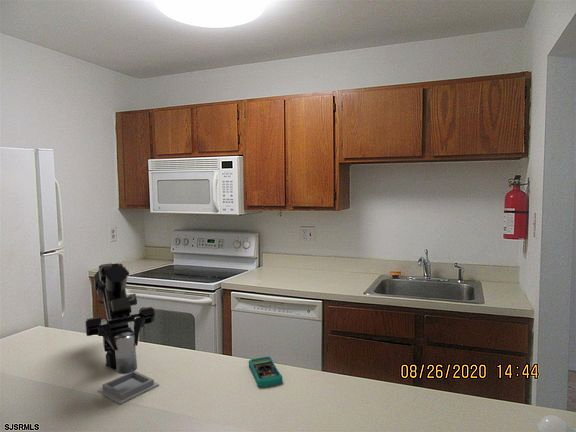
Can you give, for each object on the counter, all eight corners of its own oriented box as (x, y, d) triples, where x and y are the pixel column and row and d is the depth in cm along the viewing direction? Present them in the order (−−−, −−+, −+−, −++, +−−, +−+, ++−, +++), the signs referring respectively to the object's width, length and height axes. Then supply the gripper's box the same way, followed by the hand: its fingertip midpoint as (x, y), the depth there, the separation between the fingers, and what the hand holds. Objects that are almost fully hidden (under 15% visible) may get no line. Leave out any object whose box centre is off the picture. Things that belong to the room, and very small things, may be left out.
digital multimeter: (258, 390, 116) (258, 380, 116) (248, 367, 130) (248, 358, 130) (283, 385, 118) (283, 375, 118) (270, 363, 132) (270, 354, 132)
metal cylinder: (136, 363, 122) (133, 331, 121) (138, 371, 117) (135, 337, 116) (116, 367, 120) (113, 334, 119) (117, 375, 115) (114, 341, 114)
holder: (135, 374, 127) (135, 368, 127) (158, 385, 120) (158, 379, 120) (98, 391, 118) (97, 385, 118) (120, 404, 110) (120, 397, 110)
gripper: (82, 291, 115) (89, 343, 106) (151, 280, 124) (162, 327, 116) (83, 311, 122) (89, 360, 114) (147, 299, 132) (158, 344, 123)
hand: (125, 347), depth 116 cm, fingers closed on metal cylinder, 5 cm apart
